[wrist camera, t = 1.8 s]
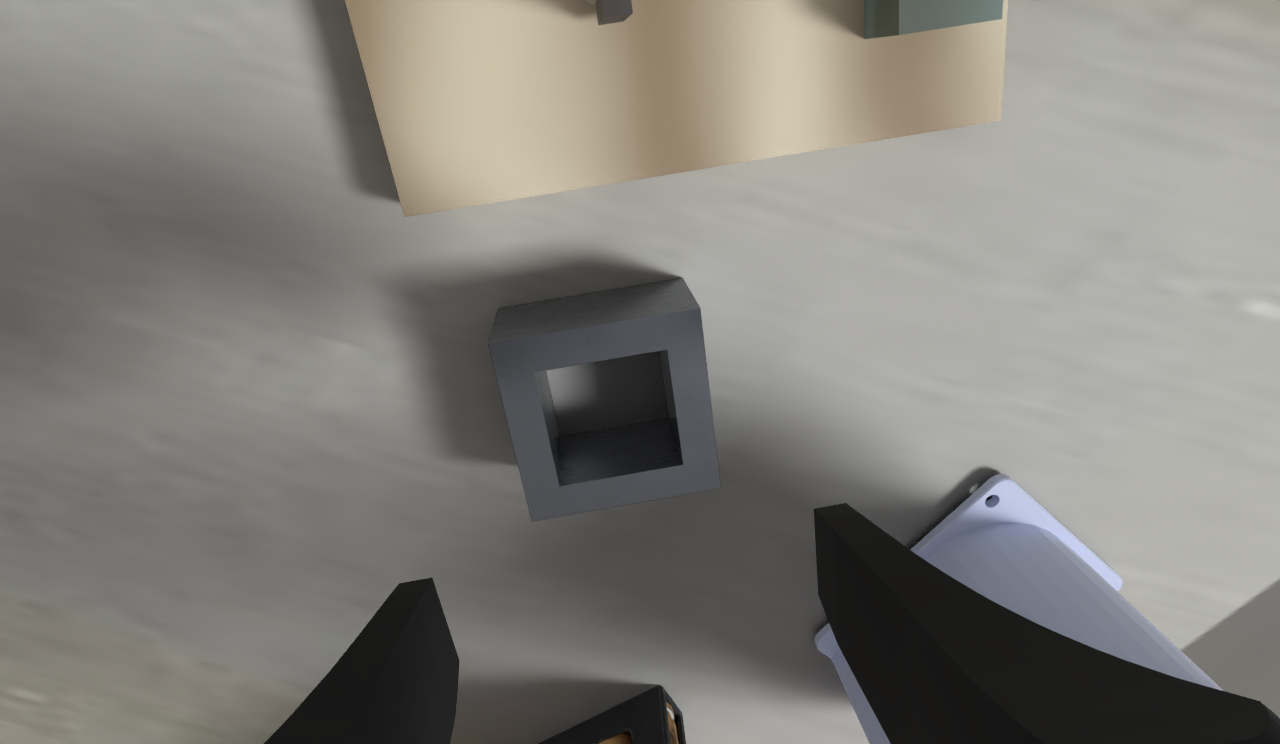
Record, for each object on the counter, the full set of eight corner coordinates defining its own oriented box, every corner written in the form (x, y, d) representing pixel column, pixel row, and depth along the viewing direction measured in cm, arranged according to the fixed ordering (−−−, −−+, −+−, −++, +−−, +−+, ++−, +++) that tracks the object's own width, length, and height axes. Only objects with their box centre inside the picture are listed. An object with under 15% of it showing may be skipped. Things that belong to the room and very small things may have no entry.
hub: (682, 277, 21) (699, 307, 19) (702, 439, 24) (721, 487, 21) (497, 308, 21) (488, 343, 18) (536, 468, 23) (531, 521, 21)
